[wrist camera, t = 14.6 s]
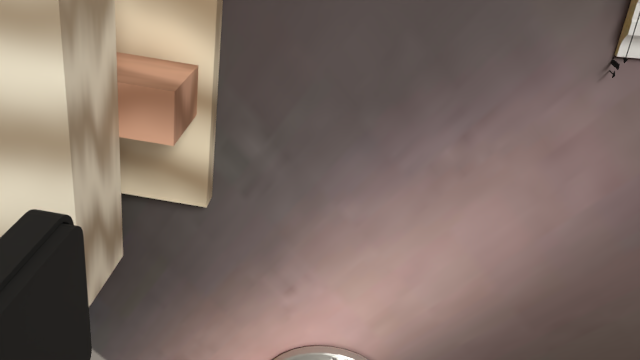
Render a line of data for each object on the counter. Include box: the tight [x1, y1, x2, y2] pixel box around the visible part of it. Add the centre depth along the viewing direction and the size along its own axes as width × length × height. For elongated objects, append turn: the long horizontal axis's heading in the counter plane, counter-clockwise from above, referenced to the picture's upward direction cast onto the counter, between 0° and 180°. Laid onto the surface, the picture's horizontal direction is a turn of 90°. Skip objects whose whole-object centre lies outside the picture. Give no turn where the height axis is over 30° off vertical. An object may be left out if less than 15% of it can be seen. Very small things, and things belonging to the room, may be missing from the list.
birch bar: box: [0, 0, 123, 306], centre depth 32 cm, size 22×4×6 cm, turn 172°
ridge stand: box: [115, 0, 223, 207], centre depth 37 cm, size 18×13×6 cm
